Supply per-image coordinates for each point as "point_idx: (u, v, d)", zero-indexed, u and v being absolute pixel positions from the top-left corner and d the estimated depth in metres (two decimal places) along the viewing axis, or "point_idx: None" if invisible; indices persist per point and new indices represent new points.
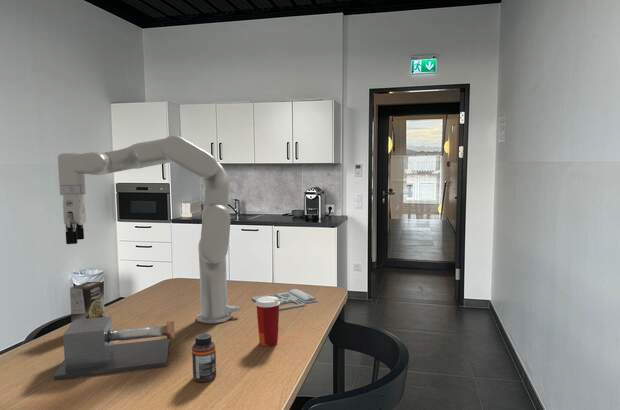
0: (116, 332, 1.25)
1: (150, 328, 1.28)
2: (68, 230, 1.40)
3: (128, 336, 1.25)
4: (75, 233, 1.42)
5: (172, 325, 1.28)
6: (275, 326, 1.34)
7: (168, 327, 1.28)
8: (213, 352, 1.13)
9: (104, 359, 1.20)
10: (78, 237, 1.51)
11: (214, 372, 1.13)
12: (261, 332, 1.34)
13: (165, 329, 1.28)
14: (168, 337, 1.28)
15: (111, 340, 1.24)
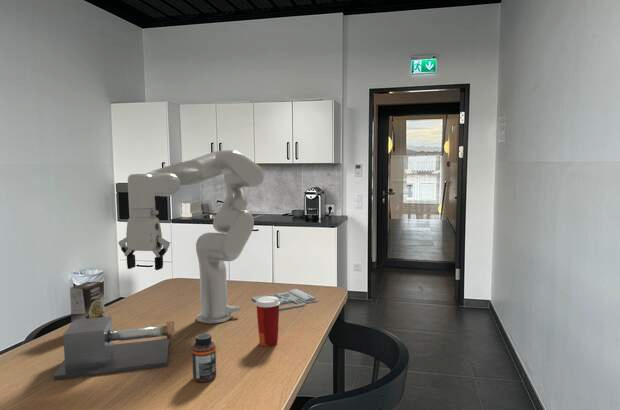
0: (116, 332, 1.25)
1: (150, 328, 1.28)
2: (162, 254, 1.34)
3: (128, 336, 1.25)
4: None
5: (172, 325, 1.28)
6: (275, 326, 1.34)
7: (168, 327, 1.28)
8: (213, 352, 1.13)
9: (104, 359, 1.20)
10: (132, 265, 1.37)
11: (214, 372, 1.13)
12: (261, 332, 1.34)
13: (165, 329, 1.28)
14: (168, 337, 1.28)
15: (111, 340, 1.24)
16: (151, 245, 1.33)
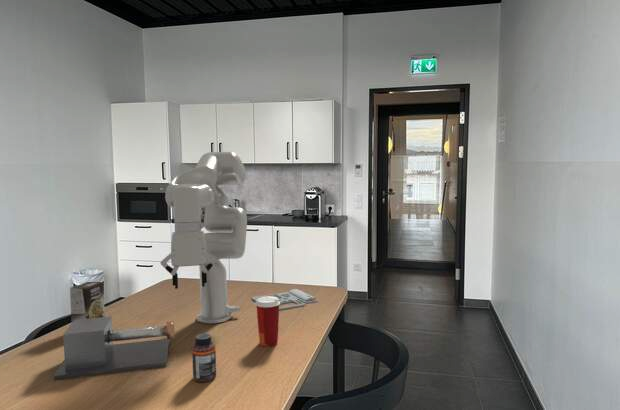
0: (116, 332, 1.25)
1: (150, 328, 1.28)
2: None
3: (128, 336, 1.25)
4: None
5: (172, 325, 1.28)
6: (275, 326, 1.34)
7: (168, 327, 1.28)
8: (213, 352, 1.13)
9: (104, 359, 1.20)
10: None
11: (214, 372, 1.13)
12: (261, 332, 1.34)
13: (165, 329, 1.28)
14: (168, 337, 1.28)
15: (111, 340, 1.24)
16: (203, 259, 1.29)
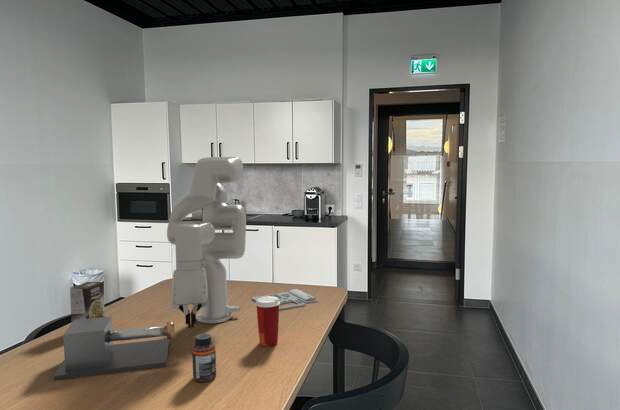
0: (116, 332, 1.25)
1: (150, 328, 1.28)
2: None
3: (128, 336, 1.25)
4: None
5: (172, 325, 1.28)
6: (275, 326, 1.34)
7: (168, 327, 1.28)
8: (213, 352, 1.13)
9: (104, 359, 1.20)
10: None
11: (214, 372, 1.13)
12: (261, 332, 1.34)
13: (165, 329, 1.28)
14: (168, 337, 1.28)
15: (111, 340, 1.24)
16: (204, 297, 1.29)
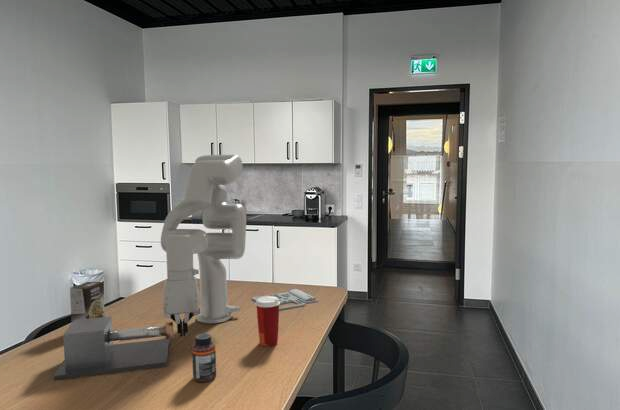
0: (115, 332, 1.25)
1: (149, 328, 1.28)
2: (189, 319, 1.31)
3: (126, 336, 1.25)
4: None
5: (171, 325, 1.28)
6: (275, 326, 1.34)
7: (167, 327, 1.28)
8: (213, 352, 1.13)
9: (104, 359, 1.20)
10: None
11: (214, 372, 1.13)
12: (261, 332, 1.34)
13: (164, 329, 1.28)
14: (167, 337, 1.28)
15: (110, 340, 1.24)
16: (195, 306, 1.29)
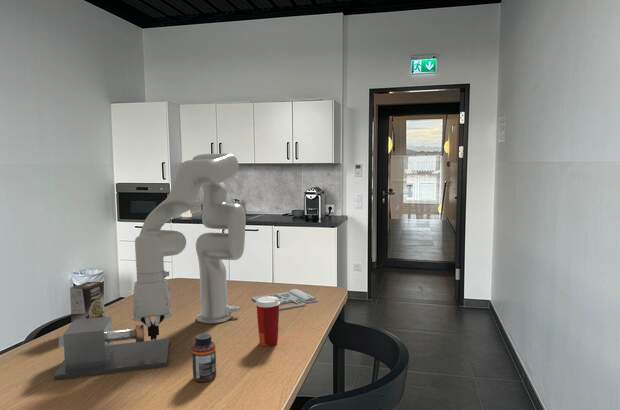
0: None
1: (119, 331, 1.25)
2: (160, 322, 1.28)
3: None
4: None
5: (141, 328, 1.26)
6: (275, 326, 1.34)
7: (137, 330, 1.25)
8: (213, 352, 1.13)
9: (104, 359, 1.20)
10: (153, 335, 1.29)
11: (214, 372, 1.13)
12: (261, 332, 1.34)
13: (134, 332, 1.26)
14: (137, 340, 1.26)
15: None
16: (166, 309, 1.27)
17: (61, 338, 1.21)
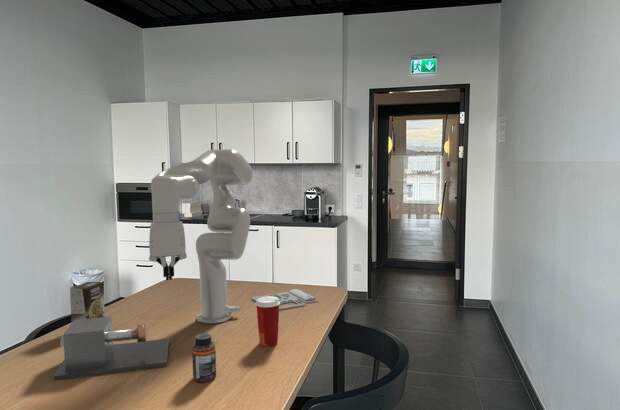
0: None
1: (120, 331, 1.26)
2: (175, 263, 1.31)
3: None
4: None
5: (143, 328, 1.26)
6: (275, 326, 1.34)
7: (139, 330, 1.26)
8: (213, 352, 1.13)
9: (104, 359, 1.20)
10: None
11: (214, 372, 1.13)
12: (261, 332, 1.34)
13: (136, 332, 1.26)
14: (139, 340, 1.26)
15: None
16: (181, 249, 1.29)
17: None
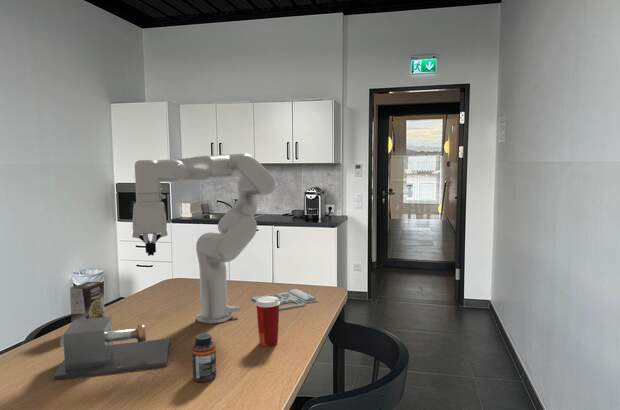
0: None
1: (120, 331, 1.26)
2: (156, 240, 1.42)
3: None
4: None
5: (143, 328, 1.26)
6: (275, 326, 1.34)
7: (139, 330, 1.26)
8: (213, 352, 1.13)
9: (104, 359, 1.20)
10: None
11: (214, 372, 1.13)
12: (261, 332, 1.34)
13: (136, 332, 1.26)
14: (139, 340, 1.26)
15: None
16: (162, 227, 1.40)
17: None
